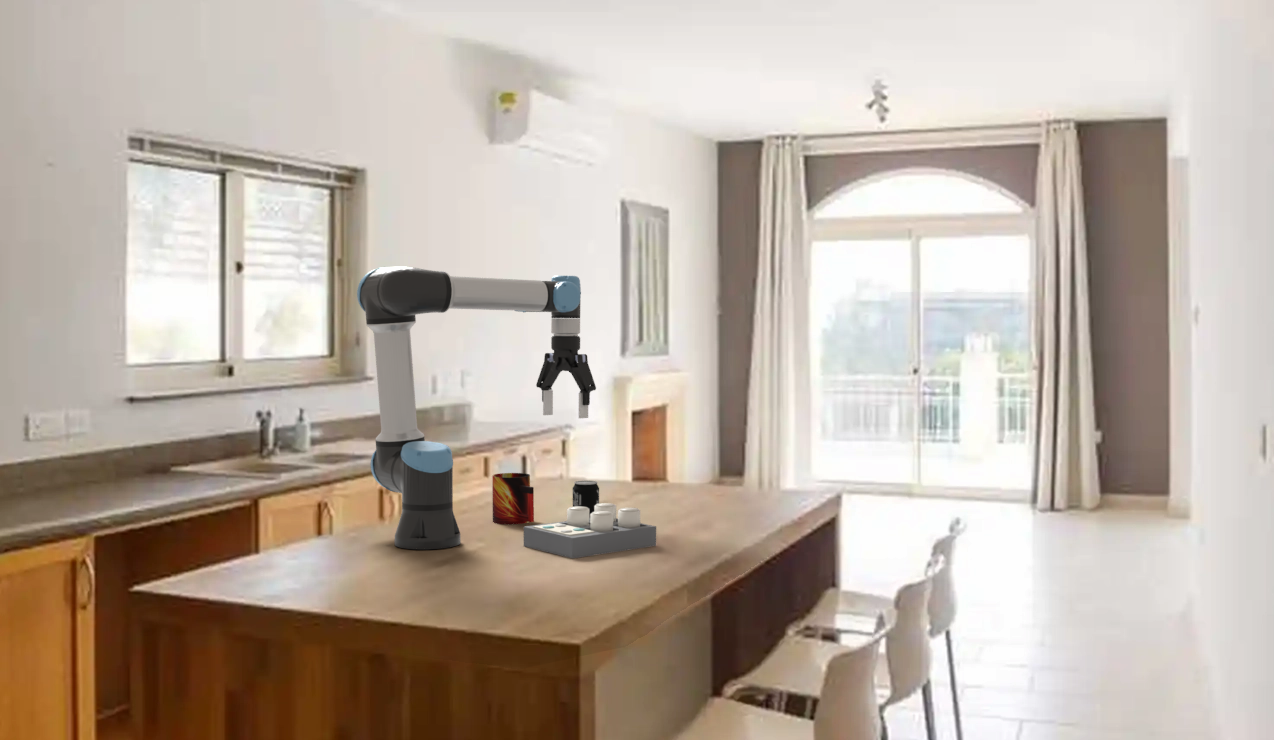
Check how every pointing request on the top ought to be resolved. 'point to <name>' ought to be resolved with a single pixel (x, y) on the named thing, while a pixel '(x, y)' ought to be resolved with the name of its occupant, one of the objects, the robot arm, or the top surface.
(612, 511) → the button
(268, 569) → the top surface
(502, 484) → the mug
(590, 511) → the beverage can
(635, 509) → the button
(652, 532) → the board
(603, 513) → the button
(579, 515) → the button
